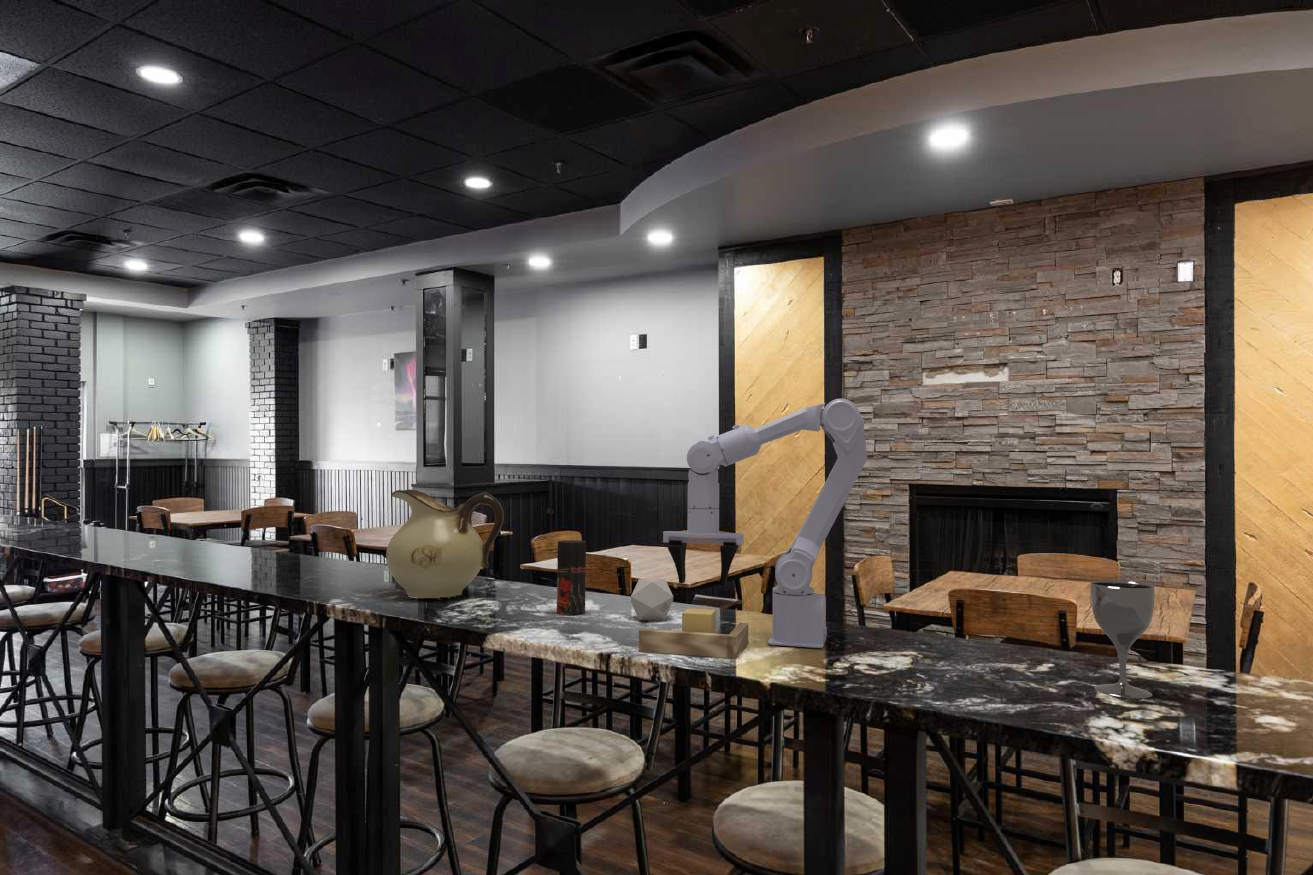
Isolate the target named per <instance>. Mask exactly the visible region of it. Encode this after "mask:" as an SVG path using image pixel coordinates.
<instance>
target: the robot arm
mask: <svg viewBox="0 0 1313 875" xmlns="http://www.w3.org/2000/svg"><path fill="white" fill-rule="evenodd" d="M824 406H825V407H824ZM731 428H732V430H729V431H726V432H724V433H722V434H719V435H717V436H714V435H712V434H711V435H709V436H708V437H707V441H705V440H699V441H698V442H696V443H694V444H693V445H692V446H690V447H689V449H688V451H687V454H686V462H687V463H686V464H687V466H688V467H689V468H690V469H688V474H687V475H688V476H687V477H688V482H687V523H686V524H687V530H683V531H682V530H681V531H679V530H678V531H677V530H675V531H673V530H667V531H666V530H665V531H663V533H662V534H663V535H662V536H663V537H662V538H663V539H662V543H668V544H667V550H668V552H669V554H670V556H671V558H672V560H673V562H674V565H675V570H676V572H677V577H678V578H677V579H678V583H679V584H684V583H686V578H687V577H686V576H687V575H686V554H687V545H688V544H709V545H710V544H715V545H716V544H717V545H720V546H719V548H720V549H719V550H720V564H721V565H720V566H721V567H720V586H726V585H727V584H728V583H727V582H728V578H729V577H728V576H729V571H730V568H731V566H732V564H733V563H732V562H733V559H734V558H735V555H736V553H737V552H738V549H739V546H742V545H744V543H745V542H744V539H745V538H744V537H745V536H744V535H745V533H741V532H739V533H738V532H737V533H736V532H723V531H720V483H719V470H718V469H719V468H720V466H724V467H729V466H730V465H733V464H735V463H738V462H741V461H744V460H746V459H748V458H751V457H754V456H756V455H758V454H759V452H760V449H761V447H762V445H763V444H767V443H769V442H773V441H775V440H778V439H781V438H783V437H786V436H790V435H792V434H794V433H797V432H801V431H810V432H820V430H823V432H824V433H825V435H826V436H827V437H828V438H829V439H830V440H831V442H832V445H833V448H834V452H835V453H836V455H837V456H836V457H837V459H836V461H835V462H834V465H833V467H832V469H831V470H830V473H829V475H828V477H827V478H826V480H825V482H824V484H823V486H822V488H821V489H820V492H819V494H818V496H817V497H816V499H815V501H814V503H813V505H812V507H811V509H810V510H809V511H808V512H809V513H808V515H807V516H806V518H805V520H804V522H803V523H802V525H801V528H800V530H799V531H798V534H797V535H796V537H795V538H794V540H793V542H792V543H791V545H790V547H789V548H788V550H787V551H785V553H783V554H781V556H779V557H778V559H777V560H776V563H775V566H774V567H775V571H774V572H775V573H774V574H775V575H774V576H775V577H774V578H775V581H776V582H777V585H776V586H774V587H772V635H771V636H770V638H769V639H768V641H767V645H769V646H770V645H771V646H783V647H784V646H786V647H799V648H813V649H823V648H824V645H825V643H826V640H827V636H828V634H827V633H828V627H827V626H826V625H827V623H826V622H827V620H826V619H827V618H826V614H827V612H826V608H827V607H826V606H827V603H826V601H827V600H826V594H825V593H816V592H814V590H815V589H814V588H813V587H811V586H810V584H811V583H812V580H813V567H814V565H815V562H816V561H817V558H818V557H819V552H821V551H820V550H821V548H822V546H823V545H824V542H825V540H827V537H828V535H829V532H830V531H831V528H832V527H833V525H834V524H835V522H836V519H837V517H838V516H839V514H840V512H841V510H842V508H843V506H844V504H845V503H846V500H847V498H848V497H849V494H850V492H851V491H852V490H853V487H854V485H855V484H856V481H857V480H858V477H859V476H860V473H861V472H862V469H863V468H864V466H865V465H866V462H867V460H868V452H867V451H868V450H867V444H866V434H865V420H864V418H863V417H862V414H861V413H860V410H859V409H858V407H857V405H856V404H854V402H852V401H851V400H849V399H845V398H836V399H833V400H831V401H830V402H828V404H826V402H823V403H818V404H815V405H811V406H807V407H804V408H801V409H799V410H796V411H794V412H791V413H790V414H789V413H788V414H787V415H784V416H782V417H780V418H777V419H775V420H773V421H770V422H768V423H766V424H764V425H761V426H759V427H757V428H754V427H752V426H750V425H747V424H744V425H742V426H740V424H739V423H738V424H735V425H733V426H732V427H731ZM704 539H705V540H704ZM706 539H707V540H706ZM709 539H712V540H709Z"/></svg>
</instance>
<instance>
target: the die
mask: <svg viewBox="0 0 1313 875" xmlns="http://www.w3.org/2000/svg"><path fill="white" fill-rule="evenodd" d="M630 601H631V604H632V607H633V610H634V612H635V614H636V617H637V620H638V621H666V618H667V616H668V614H669V612H670V609H671V606H672V604H673V601H674V595H673V593H672V591H671V589H670V587H669V585H668V583H667V580H666V578H639V579H638V580H637V583H636V585H635V587H634V589H633V591H632V593H631V595H630Z"/></svg>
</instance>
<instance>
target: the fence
mask: <svg viewBox="0 0 1313 875" xmlns="http://www.w3.org/2000/svg"><path fill="white" fill-rule="evenodd" d="M748 644H749V622H739V623H738V624H737V625H736V626H735V628H733V629H732V631H730V633H729V634H728V633H727V634H726V633H716V634H714V633H699V632H683V631H682V630H680V631H679V630H667V629H654V628H651V629H650V628H640V629H639V630H638V652H639V653H640V652H641V653H655V654H668V655H682V656H694V657H695V656H697V657H707V658H708V657H710V658H722V659H737V658H738V657H739V656H740V655H741V653H742V652H743V651H744V649H745V648H746V647H747V645H748Z"/></svg>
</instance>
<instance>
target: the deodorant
mask: <svg viewBox="0 0 1313 875" xmlns="http://www.w3.org/2000/svg"><path fill="white" fill-rule="evenodd" d="M586 558H587V541H586V540H579V539H577V540H575V539H573V540H568V539H567V540H566V539H565V540H558V541H557V563H556V564H557V567H556V568H557V572H556V574H557V576H556V577H557V578H556V581H557V582H556V588H557V589H556V614H557V615H560V616H581V615H585V614H586V585H587V584H586V579H587V578H586V575H587V573H586V571H587V568H586V566H587V559H586Z"/></svg>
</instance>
